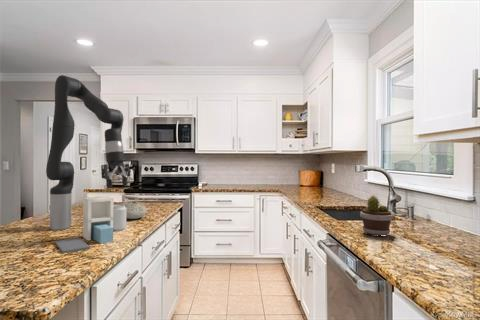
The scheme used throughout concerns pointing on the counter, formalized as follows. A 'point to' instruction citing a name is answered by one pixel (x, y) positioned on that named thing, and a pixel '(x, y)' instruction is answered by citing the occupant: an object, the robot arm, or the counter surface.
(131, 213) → the decorative shell
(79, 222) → the counter surface
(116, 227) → the can
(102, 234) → the block
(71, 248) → the mat
